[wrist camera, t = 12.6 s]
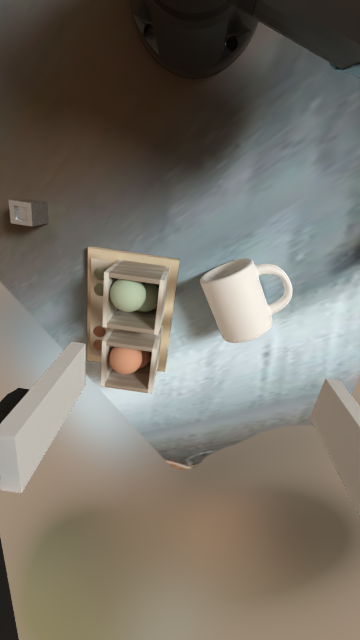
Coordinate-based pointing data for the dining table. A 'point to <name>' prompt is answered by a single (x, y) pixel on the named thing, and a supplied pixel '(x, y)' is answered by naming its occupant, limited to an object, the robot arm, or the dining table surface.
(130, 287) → the ball sage upper
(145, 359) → the ball terracotta in tube
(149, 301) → the ball sage lower
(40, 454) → the robot arm
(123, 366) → the ball terracotta
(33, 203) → the post
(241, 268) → the mug
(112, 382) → the rack
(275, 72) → the dining table surface
